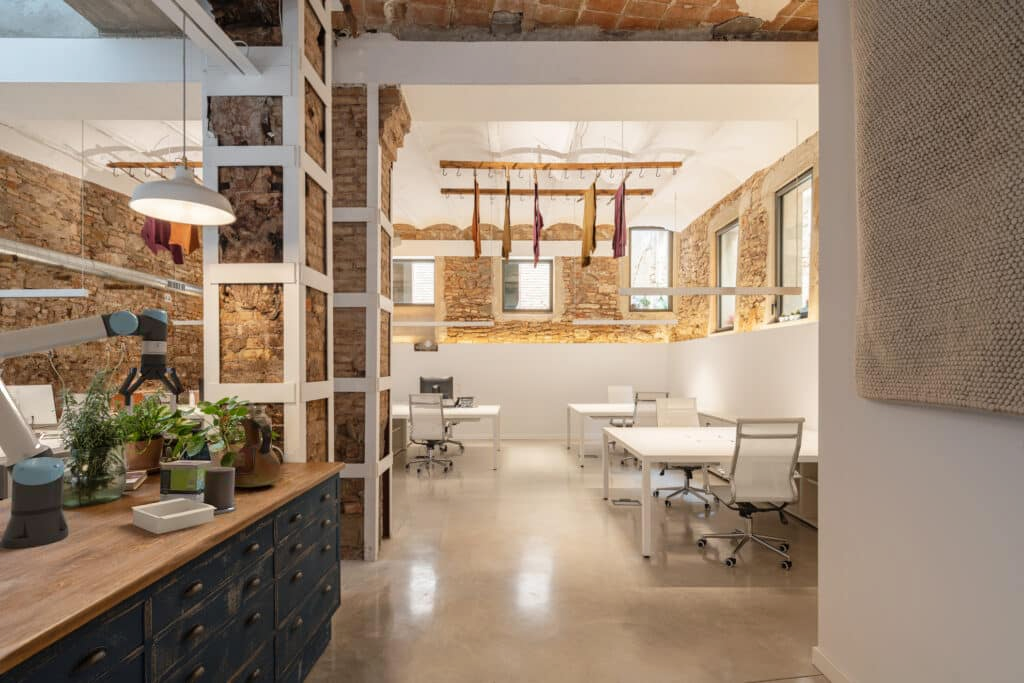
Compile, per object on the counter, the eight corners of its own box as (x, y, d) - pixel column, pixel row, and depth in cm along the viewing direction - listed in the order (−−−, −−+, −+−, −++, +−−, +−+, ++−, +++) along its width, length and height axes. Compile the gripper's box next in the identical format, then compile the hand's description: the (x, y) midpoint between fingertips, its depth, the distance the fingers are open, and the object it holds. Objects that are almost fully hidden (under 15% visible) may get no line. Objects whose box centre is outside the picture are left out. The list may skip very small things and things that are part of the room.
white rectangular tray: (162, 535, 170) (162, 519, 170) (128, 523, 183) (129, 507, 183) (218, 522, 184) (218, 507, 184) (183, 511, 197) (183, 497, 197)
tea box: (213, 498, 217) (214, 460, 218) (195, 504, 207) (197, 464, 208) (177, 497, 219) (178, 459, 219) (158, 503, 209) (159, 463, 209)
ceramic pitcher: (258, 480, 251) (260, 413, 252) (291, 484, 242) (293, 415, 243) (219, 488, 233) (221, 417, 234) (252, 494, 224) (254, 419, 225)
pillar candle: (208, 512, 193) (210, 468, 194) (199, 506, 200) (201, 464, 201) (237, 507, 200) (239, 465, 201) (228, 502, 207) (229, 461, 208)
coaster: (210, 516, 192) (210, 513, 192) (192, 511, 198) (192, 508, 198) (243, 509, 202) (243, 506, 202) (225, 504, 208) (225, 501, 208)
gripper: (118, 352, 183) (115, 417, 183) (195, 354, 204) (193, 412, 203) (108, 352, 188) (105, 416, 187) (185, 354, 208) (183, 411, 207)
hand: (151, 414), depth 195 cm, fingers open, 13 cm apart
